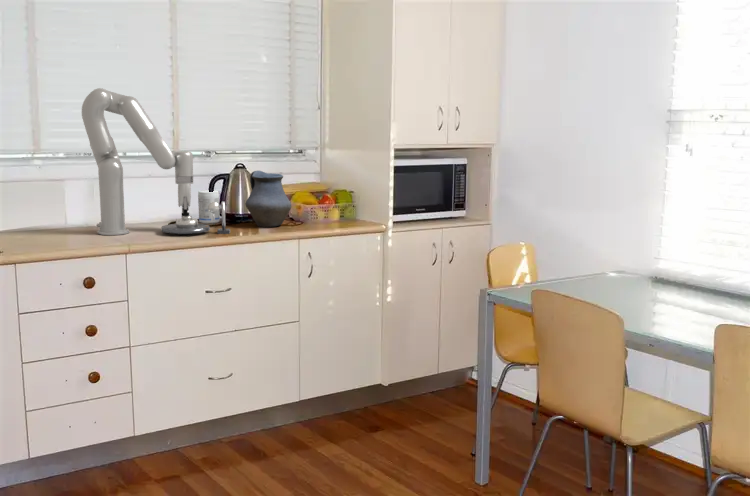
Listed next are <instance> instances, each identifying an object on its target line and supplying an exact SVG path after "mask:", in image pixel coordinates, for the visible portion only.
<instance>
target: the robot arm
mask: <svg viewBox="0 0 750 496" xmlns="http://www.w3.org/2000/svg"><path fill="white" fill-rule="evenodd" d="M105 112H109V113H112V114H116V115H121V116H123V118H124V120H125V121H126V122H127V123H128V125H129V126H130V128H131V129H132V131H133V132H134V134H135V135H136V137H137V138H138V139H139V141H140V142H142V144H143V145H144V146H145V148H146V149H147V150H148V151H149V153H150V154H151V156H152V157H153V159H154V161H155V162H156V165H157V166H158V167H159V168H161V169H162V170H171V169H172V168H174V177H175V179H174V181H175V185H177V203H178V204H177V205H178V207H179V208H181V217H182V216H190V211H189V208H190V206H191V198H192V195H191V193H192V192H191V191H192V190H191V189H192V188H191V187H192V186H191V184H194V162H193V161H194V159H193V158H194V157H193V153H192V152H191V151H188V150H184V151H183V150H182V151H181V150H178V151H171V149H170V148H169V146H168V145H167V143H166V142H165V140H164V139H163V137H162V136H161V134H160V132H159V130H158V129H157V126H155V124H154V122H153V121H152V119H151V118H150V116H149V115H148V113H146V111H145V109H144V108H143V106H142V105H141V103H140V102H139V100H138V99H137V98H135V97H134V96H130V95H129V96H127V95H124V94H120V93H117V92H113V91H111V90H110V91H109V90H106V89H105V88H101V87H99V88H95V89H93V90H92V91H91V92H90V93H88V94H87V96H86V97H85V98H84V100H83V102H82V106H81V118H82V122H83V125H84V129H85V132H86V134H87V135H86V136H87V138H88V142H89V146H90V148H91V150H92V153H93V157H94V159H95V163H96V166H97V167H98V173H97V174H98V185H99V186H98V189H99V191H98V192H99V208H100V222H98V223H96V227H97V228H99V229H98V230H97V234H98V235H103V236H117V235H119V236H120V235H126V234H129V233H130V229H128V228H126V221H125V219H126V218H125V214H126V213H125V197H124V168H123V167H124V166H123V164H122V162H121V159H120V157H119V154H118V150H117V147H116V144H115V141H114V138H113V137H112V135H111V134H110V130H109V128H108V125H107V121H106V118H105Z"/></svg>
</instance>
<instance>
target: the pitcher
mask: <svg viewBox="0 0 750 496" xmlns="http://www.w3.org/2000/svg"><path fill="white" fill-rule="evenodd" d="M283 178H284V175H283V174H282V173H269V172H265V171H262V170H254V171H252V172H251V174H250V178H249V181H250V182H249V183H250V187H251V192H250V194H249V196H248V198H247V199H246V201H245V203H244V205H245V208H246V209H247V210H248V212H249V214H250V215H251V217H252V220H254V222H255V224H256V226H257V227H261V228H274V227H279V226H282V224H284V221H285V220H286V218H287V216H288V215H289V213H290V211H291V209H292V203H291V201H290V199H289V197H288V196H287V194H286V193H285V190H284V187H283V184H282V180H283Z"/></svg>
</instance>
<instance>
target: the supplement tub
mask: <svg viewBox="0 0 750 496" xmlns="http://www.w3.org/2000/svg"><path fill="white" fill-rule="evenodd" d="M213 190H214V191H213V192H209V189H206V190H198V193H197V198H198V201H197V203H198V204H197V205H198V223H200V224H213V213H211V212H210V211H209V210H208V205H209V204H210V203H211V202H216V203H217V204H218V205H219V206H220V195H219V190H216V189H213ZM220 214H221V213H220V209H219V210H218V211H217V212H216V213H214V223H215V224H216V223H219V222H220V219H221V217H220Z"/></svg>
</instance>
